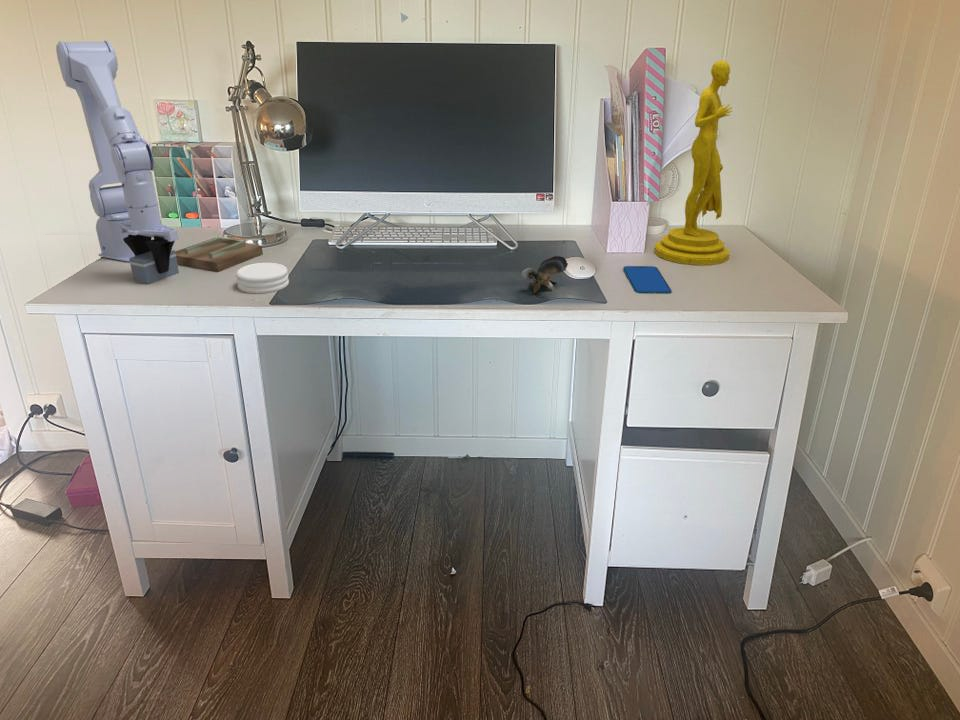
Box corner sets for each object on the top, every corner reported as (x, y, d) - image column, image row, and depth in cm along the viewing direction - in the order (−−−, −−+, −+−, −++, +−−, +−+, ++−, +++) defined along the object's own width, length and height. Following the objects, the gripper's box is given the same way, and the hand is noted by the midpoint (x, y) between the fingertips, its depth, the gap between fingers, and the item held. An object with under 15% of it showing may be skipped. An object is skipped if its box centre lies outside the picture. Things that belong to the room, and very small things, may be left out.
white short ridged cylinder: (230, 284, 143) (228, 267, 142) (277, 274, 149) (275, 258, 147) (249, 298, 136) (246, 281, 134) (297, 287, 141) (295, 271, 140)
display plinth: (169, 262, 154) (166, 249, 153) (216, 246, 166) (214, 233, 165) (218, 271, 149) (215, 258, 148) (262, 254, 161) (261, 241, 159)
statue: (719, 270, 153) (753, 63, 135) (644, 257, 160) (666, 60, 142) (736, 250, 166) (768, 60, 148) (665, 239, 173) (688, 57, 155)
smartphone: (635, 291, 139) (622, 266, 153) (635, 296, 140) (621, 270, 153) (672, 291, 139) (656, 266, 152) (672, 296, 140) (655, 270, 153)
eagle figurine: (561, 293, 136) (576, 272, 142) (541, 263, 134) (557, 242, 140) (530, 306, 140) (546, 285, 147) (511, 277, 138) (528, 257, 145)
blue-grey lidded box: (133, 281, 144) (128, 258, 141) (165, 270, 150) (160, 247, 148) (148, 284, 142) (143, 261, 140) (179, 273, 149) (175, 250, 146)
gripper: (99, 205, 139) (114, 270, 145) (152, 213, 133) (166, 281, 139) (128, 197, 145) (142, 261, 151) (181, 205, 139) (193, 271, 145)
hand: (155, 270), depth 145 cm, fingers closed on blue-grey lidded box, 4 cm apart
